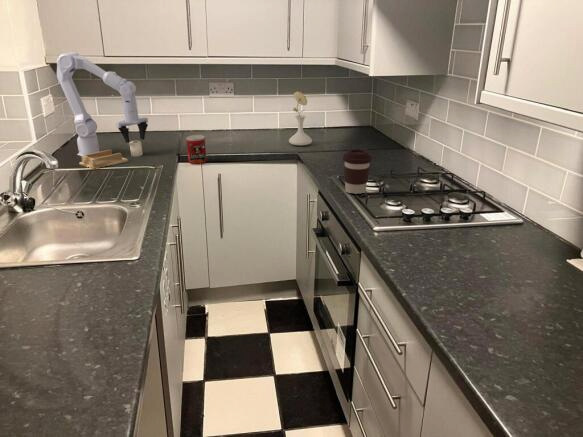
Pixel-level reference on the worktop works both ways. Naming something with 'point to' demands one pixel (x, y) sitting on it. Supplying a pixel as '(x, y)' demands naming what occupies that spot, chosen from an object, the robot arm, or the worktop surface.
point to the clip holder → (102, 159)
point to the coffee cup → (356, 170)
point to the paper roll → (136, 148)
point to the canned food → (196, 149)
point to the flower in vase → (300, 123)
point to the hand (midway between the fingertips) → (135, 140)
